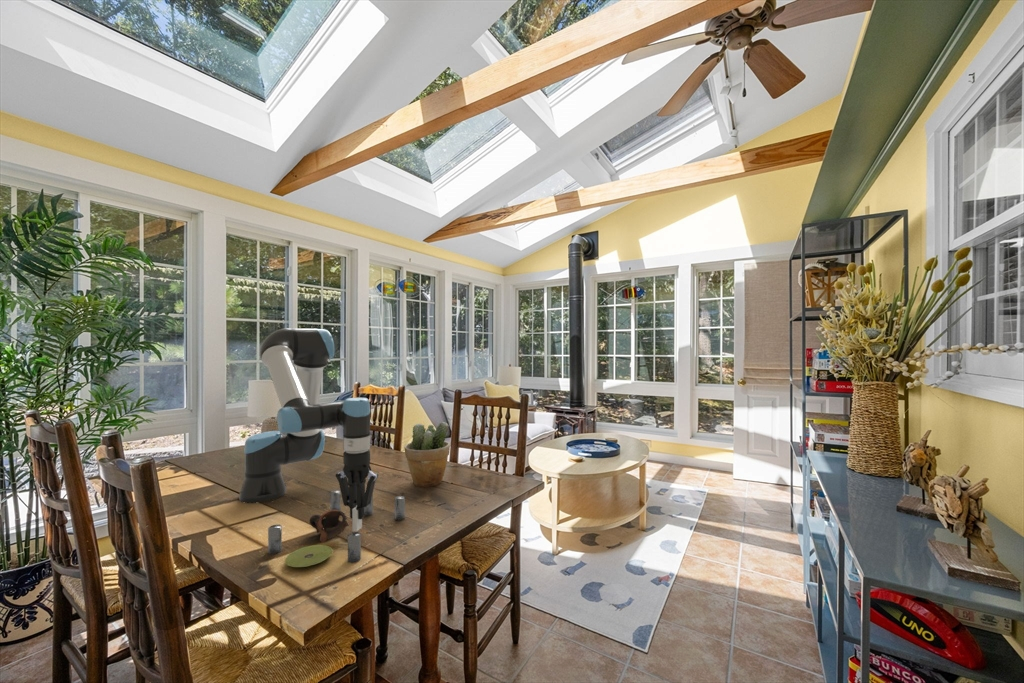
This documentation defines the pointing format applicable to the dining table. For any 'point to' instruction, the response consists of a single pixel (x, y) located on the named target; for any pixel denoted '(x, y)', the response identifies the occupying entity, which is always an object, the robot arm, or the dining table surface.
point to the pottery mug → (329, 524)
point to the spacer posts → (353, 537)
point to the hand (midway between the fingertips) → (357, 529)
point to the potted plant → (428, 454)
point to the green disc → (308, 556)
